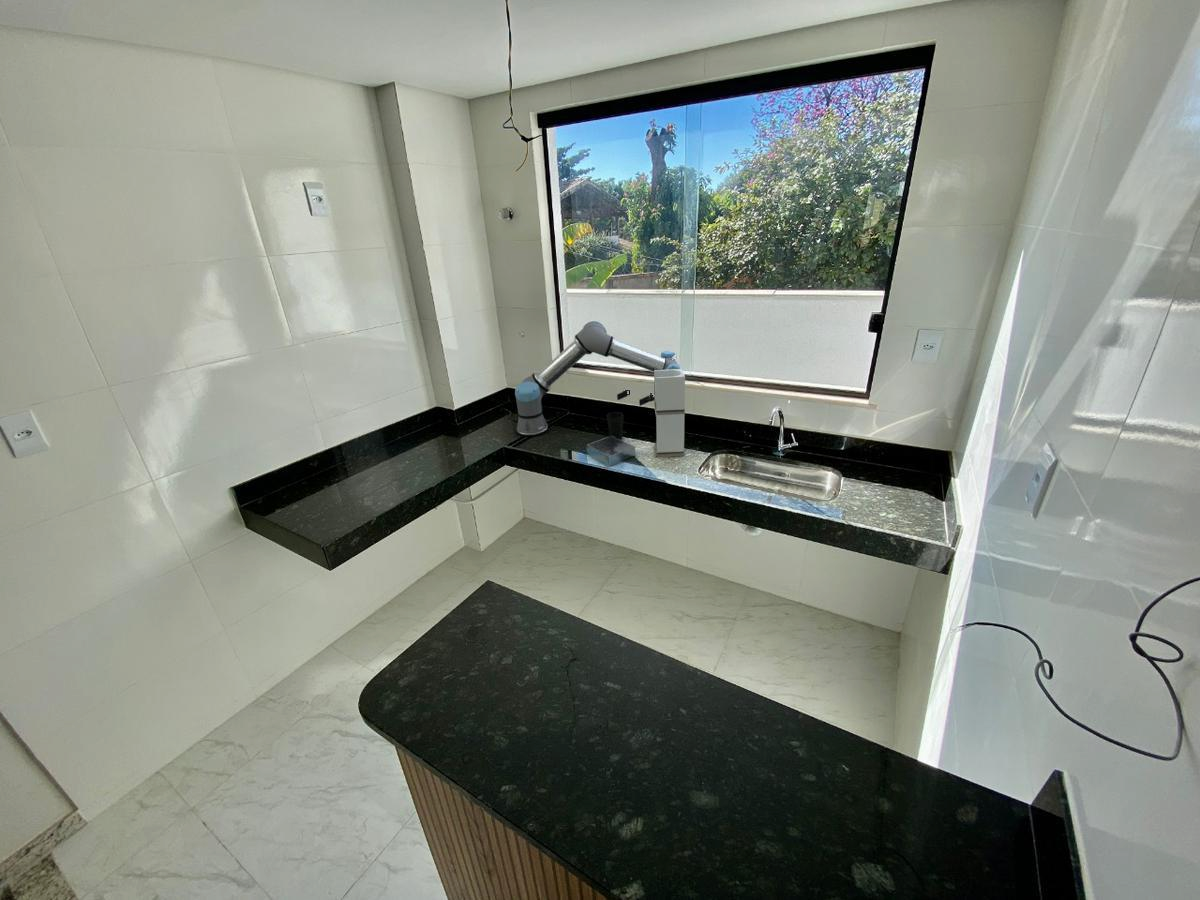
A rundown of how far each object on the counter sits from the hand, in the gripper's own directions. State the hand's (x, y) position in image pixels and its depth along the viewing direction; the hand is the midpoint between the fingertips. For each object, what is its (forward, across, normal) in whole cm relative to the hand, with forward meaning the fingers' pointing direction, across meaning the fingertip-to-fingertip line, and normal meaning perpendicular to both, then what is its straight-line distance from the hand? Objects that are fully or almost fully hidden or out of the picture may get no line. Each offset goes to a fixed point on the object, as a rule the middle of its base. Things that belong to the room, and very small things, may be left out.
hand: (628, 399), depth 225 cm
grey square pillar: (+6, -27, -17) cm, 32 cm away
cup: (+10, 0, -16) cm, 19 cm away
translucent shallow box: (+24, -9, -16) cm, 30 cm away
